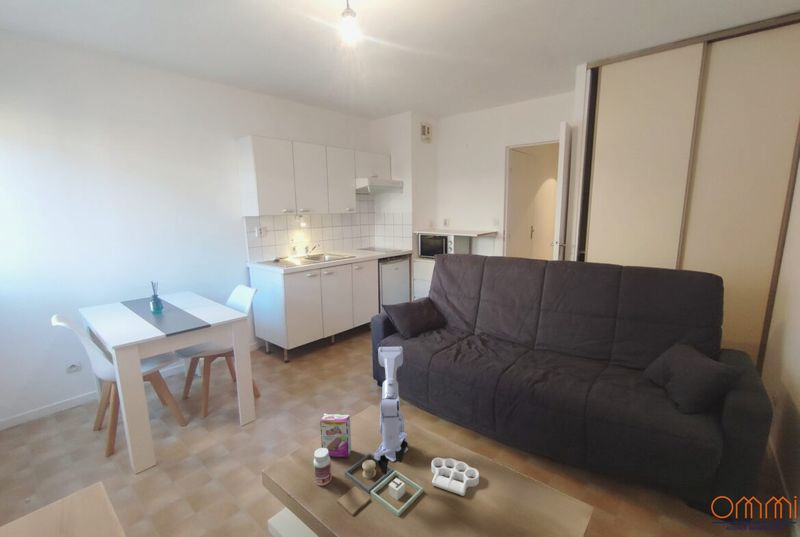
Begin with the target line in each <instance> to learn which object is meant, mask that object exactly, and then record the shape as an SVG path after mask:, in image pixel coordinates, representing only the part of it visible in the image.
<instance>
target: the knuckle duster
mask: <svg viewBox="0 0 800 537" xmlns="http://www.w3.org/2000/svg"><path fill="white" fill-rule="evenodd" d="M430 467H431V473H432V474H433V478H432V481H431V485H432V486H433V487H437V488H439V489H443V490H446V492H447V491H448V492H451V493H454V494H458V495H460V496H462V497H464V496H465V495H466V492H467V489H468V488H470V487H471V488H473V487H476V486H478V485H479V483H480V472H479V470H478V469H477V468H474V467H471V466H469V465H468V463H466V462H464V461H461V460H460V461H459V460H456V459H455V458H451V457H449V458H442V457H435V458H433V459H432V460H431V465H430ZM450 467H451V468H450ZM471 477H473V478H471ZM458 480H459V481H458ZM461 481H462V482H461Z"/></svg>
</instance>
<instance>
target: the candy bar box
mask: <svg viewBox="0 0 800 537" xmlns="http://www.w3.org/2000/svg"><path fill="white" fill-rule="evenodd" d="M319 422H320V440H321V448H326V449H328V452H329V457H330V458H331V457H332V458H333V457H335V458H349V457H350V454H351V451H352V434H351V415H350V414H341V413H340V414H339V413H338V414H337V413H322V417H321V418H320V421H319Z"/></svg>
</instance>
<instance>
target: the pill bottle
mask: <svg viewBox="0 0 800 537" xmlns="http://www.w3.org/2000/svg"><path fill="white" fill-rule="evenodd" d="M331 460H332V459H331V456H329V452H328V449H326V448H322V447H319V448H317V449H316V450H315V451H314V454H313V475H314V476H313V477H314V482H315V484H316V485H318V486H325V485H327V484H329V483H330V482H331V481H332V478H333V476H332V464H331Z"/></svg>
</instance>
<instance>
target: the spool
mask: <svg viewBox="0 0 800 537" xmlns="http://www.w3.org/2000/svg"><path fill="white" fill-rule="evenodd" d="M376 463H377V462H375V461H374V460H372V459H368V460H366V461H364V462H363V463H362V464H361V466H362V467H361V468H362V469H363V470H362V477H363V478H364V479H366V480H373V478H375V477H376V475H377V471H376V467H377V466H376Z"/></svg>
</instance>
